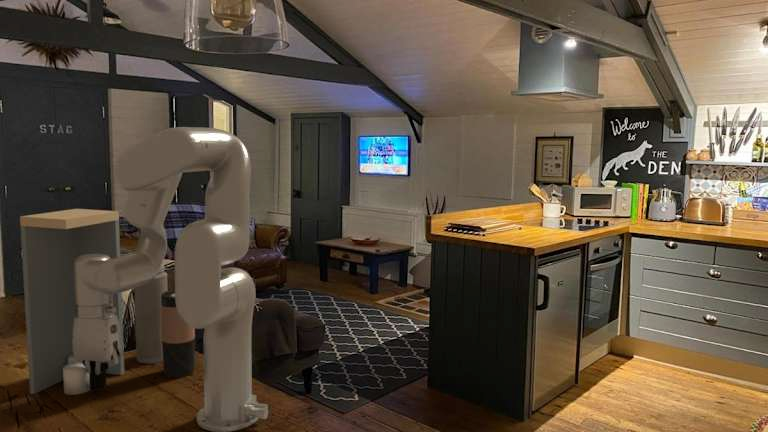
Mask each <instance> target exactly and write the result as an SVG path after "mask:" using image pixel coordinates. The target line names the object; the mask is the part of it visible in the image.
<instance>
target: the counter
mask: <svg viewBox="0 0 768 432" xmlns="http://www.w3.org/2000/svg"><path fill="white" fill-rule="evenodd" d="M119 213H120V212H119V211H117V210H102V209H90V208H89V209H87V208H71V209H65V210H58V211H51V212H43V213H37V214H36V213H35V214H29V215H21V216H19V222H20V238H21V239H20V242H21V254H22V255H21V257H22V259H21V260H22V273H23V275H22V276H23V291H24V292H23V293H24V295H23V296H24V311H25V329H26V344H27V345H26V346H27V360H28V361H27V362H28V363H27V366H28V377H29V378H28V379H29V381H28V382H29V394H30V395H31V394H32V395H36V394H37V393H40V392H42V391H44V390H45V389H47V388H49V387H52V386H54V385H56V384H58V383H60V382H62V381H64V380H63V367H64V366H66V365H68V356H69V355H70V354H73V349H72V332H73V323H74V317H75V316H76V305H75V283H74V261H75V259H76V258H77V257H79V256H82V255H86V254H105V255H108V256H109V257H110V259H112V258H117V257H120V256H121V247H120V246H121V242H120V240H121V238H120V235H121V234H120V215H119ZM122 293H123V292H121V293H118V294H113V307H116V312H115V313H114V315H117V318H118V321H119V325H120V330H121V337H122V348H123V352H122V355H121V356H119V357H118V361H119V364H118V365H117V366H115V367H109V368H108V370H107V371H106V374H110V375H116V376H122V375H125V356H124V355H125V352H124V350H125V349H124V325H123V323H124V322H123V301H122V300H123V298H122V296H123V295H122ZM102 364H103V363H102Z"/></svg>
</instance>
